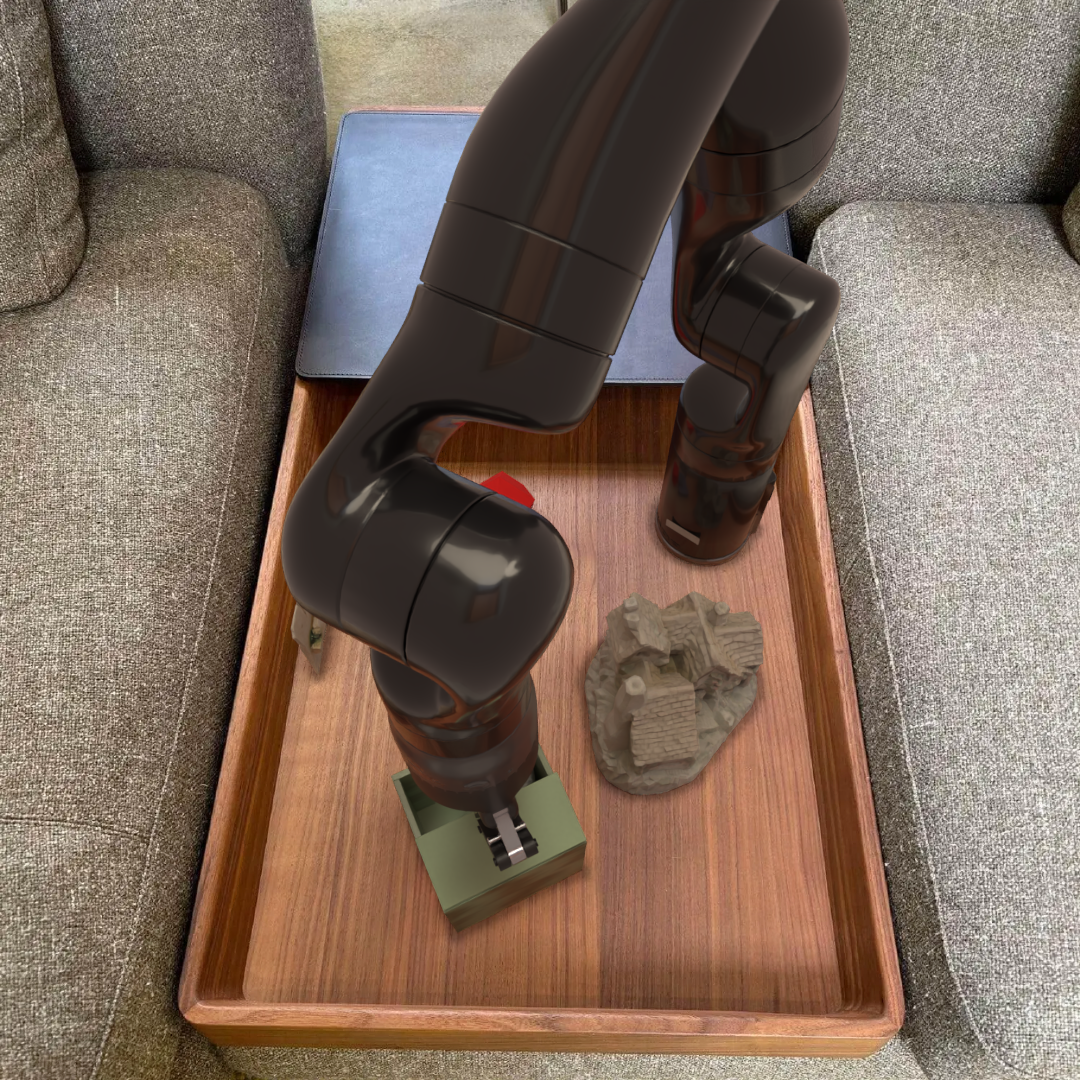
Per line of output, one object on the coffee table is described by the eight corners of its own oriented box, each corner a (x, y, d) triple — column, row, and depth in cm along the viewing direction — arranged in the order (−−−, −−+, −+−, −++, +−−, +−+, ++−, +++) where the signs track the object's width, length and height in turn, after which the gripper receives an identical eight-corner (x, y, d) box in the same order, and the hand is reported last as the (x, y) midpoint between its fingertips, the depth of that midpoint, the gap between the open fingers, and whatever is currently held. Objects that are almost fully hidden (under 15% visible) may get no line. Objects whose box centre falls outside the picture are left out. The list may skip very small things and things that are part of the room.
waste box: (528, 755, 77) (525, 714, 68) (582, 870, 72) (587, 842, 63) (409, 810, 75) (390, 775, 66) (457, 933, 70) (443, 913, 61)
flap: (556, 771, 64) (557, 771, 63) (586, 839, 63) (587, 839, 62) (414, 838, 61) (414, 839, 61) (443, 910, 60) (443, 911, 60)
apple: (474, 448, 87) (463, 495, 81) (541, 463, 88) (536, 511, 82) (462, 503, 91) (451, 552, 85) (526, 517, 92) (520, 566, 86)
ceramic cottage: (583, 792, 75) (604, 728, 62) (584, 620, 84) (602, 533, 71) (765, 801, 76) (822, 739, 63) (747, 629, 84) (793, 544, 72)
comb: (333, 677, 81) (308, 631, 72) (307, 678, 81) (278, 632, 72) (347, 539, 88) (326, 482, 80) (323, 539, 88) (299, 482, 80)
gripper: (587, 803, 44) (578, 869, 59) (481, 589, 50) (497, 698, 65) (447, 871, 42) (474, 921, 57) (356, 642, 49) (401, 741, 64)
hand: (486, 802), depth 61 cm, fingers closed
